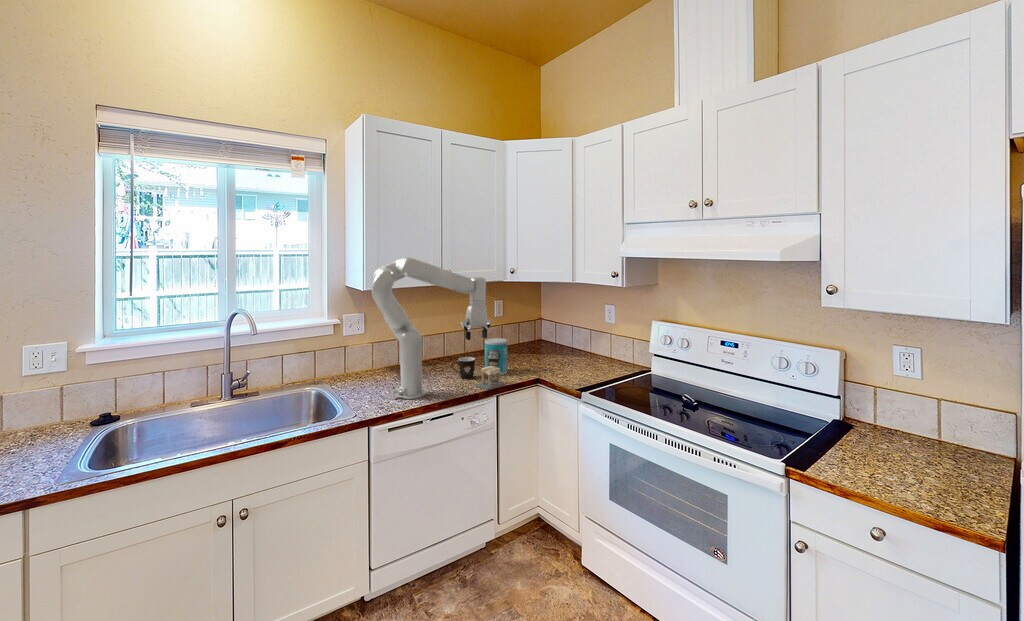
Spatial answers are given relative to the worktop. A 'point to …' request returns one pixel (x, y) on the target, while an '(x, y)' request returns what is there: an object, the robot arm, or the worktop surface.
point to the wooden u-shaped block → (491, 375)
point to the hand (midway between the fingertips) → (476, 338)
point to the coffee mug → (466, 367)
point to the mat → (494, 385)
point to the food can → (496, 354)
